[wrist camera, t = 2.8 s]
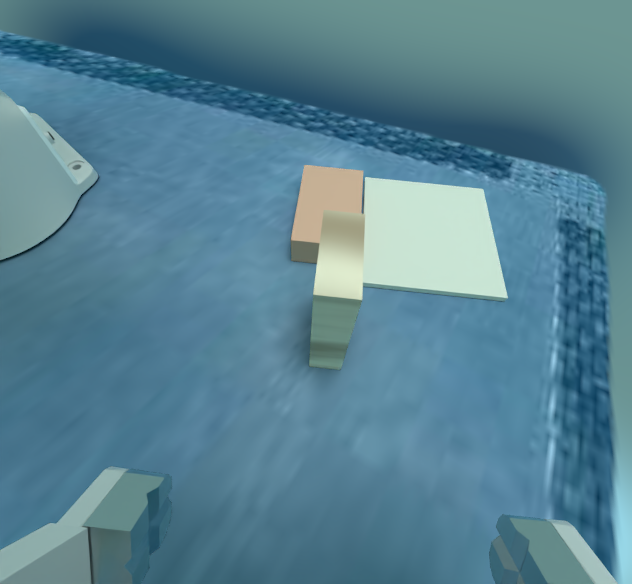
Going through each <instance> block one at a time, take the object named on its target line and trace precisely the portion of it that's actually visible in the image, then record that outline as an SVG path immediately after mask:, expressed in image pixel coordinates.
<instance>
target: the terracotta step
mask: <svg viewBox="0 0 632 584" xmlns="http://www.w3.org/2000/svg"><path fill="white" fill-rule="evenodd" d="M362 185H363V171H360V170H350V169H340V168H330V167H320V166H310V165H304V171H303V176H302V182H301V187H300V193H299V198H298V204H297V209H296V214H295V220H294V225H293V231H292V236H291V258H292V261H298V262H307V263H317V260H318V252H319V244H320V236H321V228H322V220H323V212H324V210H330V211H340V212H350V213H360V214H361V208H362Z"/></svg>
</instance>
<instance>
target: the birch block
mask: <svg viewBox="0 0 632 584" xmlns="http://www.w3.org/2000/svg"><path fill="white" fill-rule="evenodd" d="M364 234H365V214H360V213H350V212H340V211H330V210H324V212H323V220H322V228H321V236H320V244H319V252H318V260H317V269H316V277H315V285H314V293H313V308H312V325H311V342H310V359H309V367H318V368H327V369H336V370H341V367H342V364H343V361H344V358H345V354H346V351H347V348H348V344H349V341H350V338H351V335H352V331H353V328H354V325H355V322H356V318H357V315H358V312H359V309H360V305H361V302H362V290H363V262H364Z"/></svg>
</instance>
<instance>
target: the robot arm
mask: <svg viewBox="0 0 632 584" xmlns="http://www.w3.org/2000/svg"><path fill="white" fill-rule="evenodd" d="M97 179H98V174H97V172H96V171H95V170H94V168H93V167H92V166H91V165H90V164H89V163H88V162H87V161H86V160H85V159H84V158H83V157H82V156H81V155H80V154H78V153H77V152H76V151H75V150H74V149H73V148H72V147H71V146H70V145H69V144H68V143H67V142H66V141H65V140H64V139H63V138H62V137H61V136H60V135H59V134H58V133H57V132H56V131H54V130H53V129H52V128H51V127H50V126H49V125H48V124H47V123H46V122H45V121H44V120H43V119H42V118H41V117H40V116H39V115H37V114H35V113H28V111H27V110H26V109H25V108H24V107H22V106H17V105H16V104H15V103H14V101H13V100H12V99H11V98H10V97H8V96H7V95H6V94H5V93H4V92H3V91H1V90H0V260H2V259H5V258H8V257H11V256H13V255H16V254H18V253H21V252H23V251H25V250H27V249H29V248H31V247H33V246H34V245H36V244H38V243H39V242H41V241H43V240H44V239H46V238H47V237H48V236H50V235H51V234H52V233H53V232H55V231H56V230H57V229H58V228H59V227H60V226H61V225H62V224H63V223H64V222H65V221H66V220H67V218H68V217H69V216H70V214H71V213H72V211H73V209H74V207H75V205H76V203H77V201H78V199H79V198H80V196H81V195H82V194H83V193H84V192H85V191H86V190H87V189H88V188H89V187H91V186H92V185H93V184H94V183H95V181H96V180H97ZM171 489H172V476H170V475H169V474H162V473H156V472H149V471H142V470H135V469H125V468H119V467H112V466H110V467H108V468H107V469H105V470H104V471H103V472H102V473H101V474H100V475H99V476H98V477H97V478H96V479H95V481H94V482H93V483H92V484H91V485H90V486H89V487H88V488H87V490H86V491H85V492H84V493H83V494H82V495H81V496H80V498H79V499H78V500H77V501H76V502H75V503H74V504H73V505H72V507H71V508H70V509H69V510H68V511H67V512H66V513H65V514H64V516H63V517H62V518H61V519H60V520H59V521H58V522H57V523H56V524H54V523H49V524H47V525H45V526H43V527H42V528H40V529H38V530H36V531H34V532H32V533H30V534H29V535H27V536H25V537H23V538H21V539H19V540H18V541H16V542H14V543H12V544H10V545H8V546H7V547H5V548H3V549H1V550H0V584H141V583H142V581H143V579H144V577H145V575H146V573H147V571H148V569H149V556H150V555H151V554H152V553H154V552H155V551H156V550H157V549H159V548H160V546H161V544H162V542H163V540H164V538H165V536H166V533H167V530H168V527H169V523H170V519H171V513H172V502H171V501H170V499H169V498H168V497H167V496H168V494H169V492H170V490H171ZM496 528H497V530H498V532H499V534H500V535H499V536H498V537H497V538H496V539H494V540H493V541H492V542H491V547H490V551H489V559H490V568H491V572H492V576H493V579H494V581H495V584H618V583H617V582H616V581H615V579H614V578H613V577H612V576H611V574H610V573H609V572H608V570H607V569H606V568H605V567H604V565H603V564H602V563H601V561H600V560H599V559H598V557H597V556H596V555H595V554H594V552H593V551H592V550H591V548H590V547H589V546H588V545H587V543H586V542H585V541H584V539H583V538H582V537H581V536H580V534H579V533H578V532H577V530H576V529H575V528H574V527H573V526H572V525H571V524H570V523H568V522H567V521H560V520H551V519H540V518H531V517H522V516H513V515H504V514H502V515H501V516H500V517H499V518H498V521H497V525H496Z"/></svg>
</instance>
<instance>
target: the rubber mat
mask: <svg viewBox="0 0 632 584" xmlns="http://www.w3.org/2000/svg"><path fill="white" fill-rule="evenodd" d="M363 214H365V234H364V262H363V286H365V287H375V288H384V289H393V290H403V291H412V292H421V293H431V294H440V295H450V296H459V297H468V298H478V299H487V300H496V301H505V300H506V299H507V298H508V297H507V292H506V288H505V284H504V279H503V275H502V270H501V266H500V262H499V257H498V253H497V248H496V244H495V240H494V235H493V231H492V226H491V222H490V217H489V213H488V209H487V204H486V200H485V195H484V191H483V189H477V188H467V187H457V186H447V185H437V184H427V183H417V182H407V181H397V180H387V179H377V178H368V177H365V181H364V206H363Z"/></svg>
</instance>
